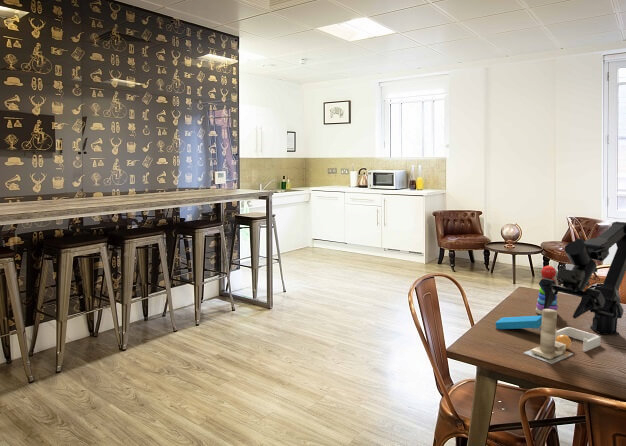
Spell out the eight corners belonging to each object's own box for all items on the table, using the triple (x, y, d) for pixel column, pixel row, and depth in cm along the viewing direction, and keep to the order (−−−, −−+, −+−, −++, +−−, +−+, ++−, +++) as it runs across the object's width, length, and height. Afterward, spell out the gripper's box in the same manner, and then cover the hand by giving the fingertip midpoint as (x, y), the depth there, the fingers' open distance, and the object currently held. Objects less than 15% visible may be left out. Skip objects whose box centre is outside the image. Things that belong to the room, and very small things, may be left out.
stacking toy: (559, 312, 188) (562, 265, 185) (556, 318, 181) (560, 269, 178) (537, 308, 192) (540, 262, 189) (533, 314, 185) (537, 266, 182)
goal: (567, 335, 164) (568, 323, 164) (600, 345, 156) (601, 333, 155) (552, 340, 159) (553, 329, 159) (585, 351, 150) (586, 339, 150)
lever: (499, 342, 170) (553, 341, 159) (495, 322, 171) (548, 320, 159) (506, 336, 176) (558, 335, 164) (501, 317, 176) (554, 314, 164)
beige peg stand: (548, 345, 154) (551, 305, 152) (567, 351, 149) (570, 310, 147) (531, 352, 149) (533, 310, 147) (549, 359, 144) (552, 315, 142)
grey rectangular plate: (545, 345, 156) (545, 344, 156) (573, 354, 148) (573, 353, 148) (523, 353, 149) (523, 352, 149) (551, 364, 142) (551, 363, 142)
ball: (566, 345, 155) (567, 332, 155) (573, 351, 151) (574, 337, 150) (552, 345, 155) (553, 332, 155) (559, 351, 151) (560, 337, 150)
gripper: (544, 253, 158) (521, 291, 153) (603, 264, 142) (581, 307, 138) (555, 274, 163) (534, 311, 158) (614, 286, 148) (592, 328, 143)
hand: (558, 313), depth 149 cm, fingers open, 9 cm apart
